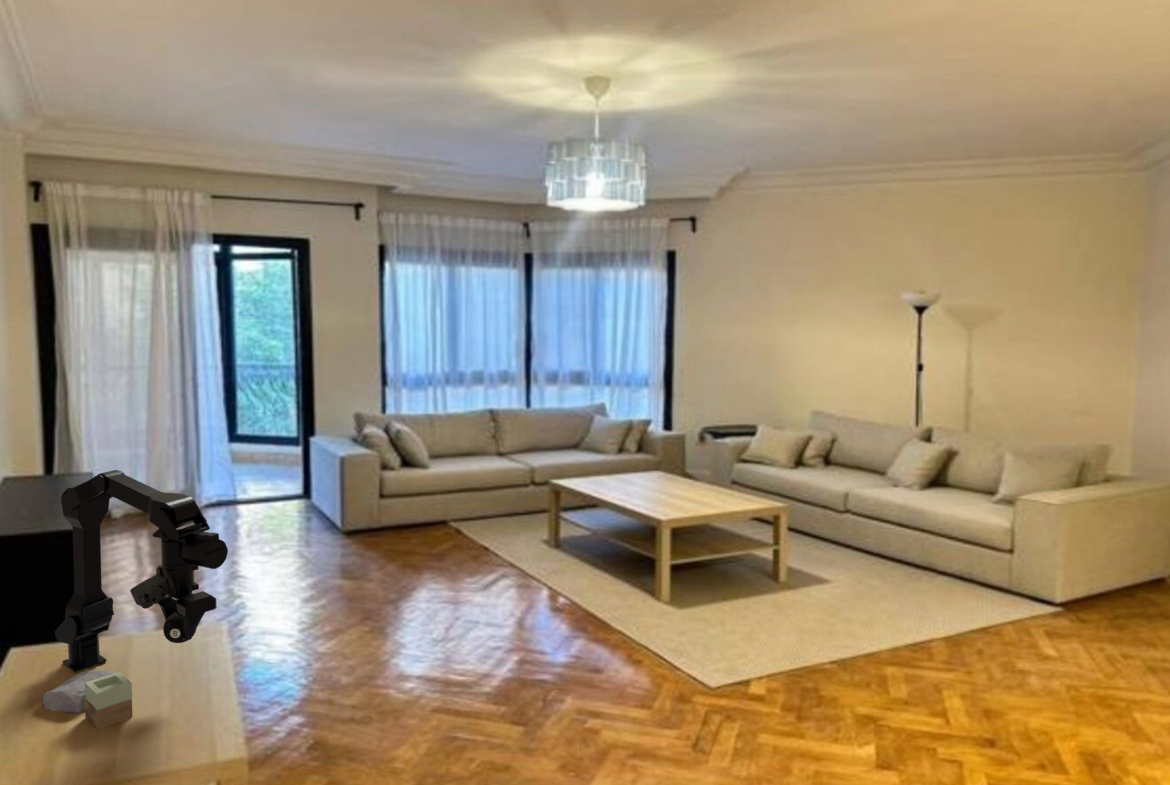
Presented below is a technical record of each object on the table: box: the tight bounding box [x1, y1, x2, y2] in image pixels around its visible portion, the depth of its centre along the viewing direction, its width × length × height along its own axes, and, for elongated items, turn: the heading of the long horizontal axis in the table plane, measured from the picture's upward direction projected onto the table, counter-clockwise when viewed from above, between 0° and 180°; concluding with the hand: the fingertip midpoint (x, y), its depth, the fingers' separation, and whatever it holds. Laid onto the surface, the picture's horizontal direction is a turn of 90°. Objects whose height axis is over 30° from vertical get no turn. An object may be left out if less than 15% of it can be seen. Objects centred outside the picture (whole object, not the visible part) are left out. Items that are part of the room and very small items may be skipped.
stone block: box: [42, 668, 116, 714], centre depth 164 cm, size 12×5×10 cm
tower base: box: [84, 698, 134, 730], centre depth 157 cm, size 6×6×4 cm
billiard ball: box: [162, 613, 198, 644], centre depth 166 cm, size 6×6×6 cm
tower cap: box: [85, 671, 133, 710], centre depth 156 cm, size 6×6×3 cm
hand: (180, 635), depth 166 cm, fingers closed on billiard ball, 6 cm apart
